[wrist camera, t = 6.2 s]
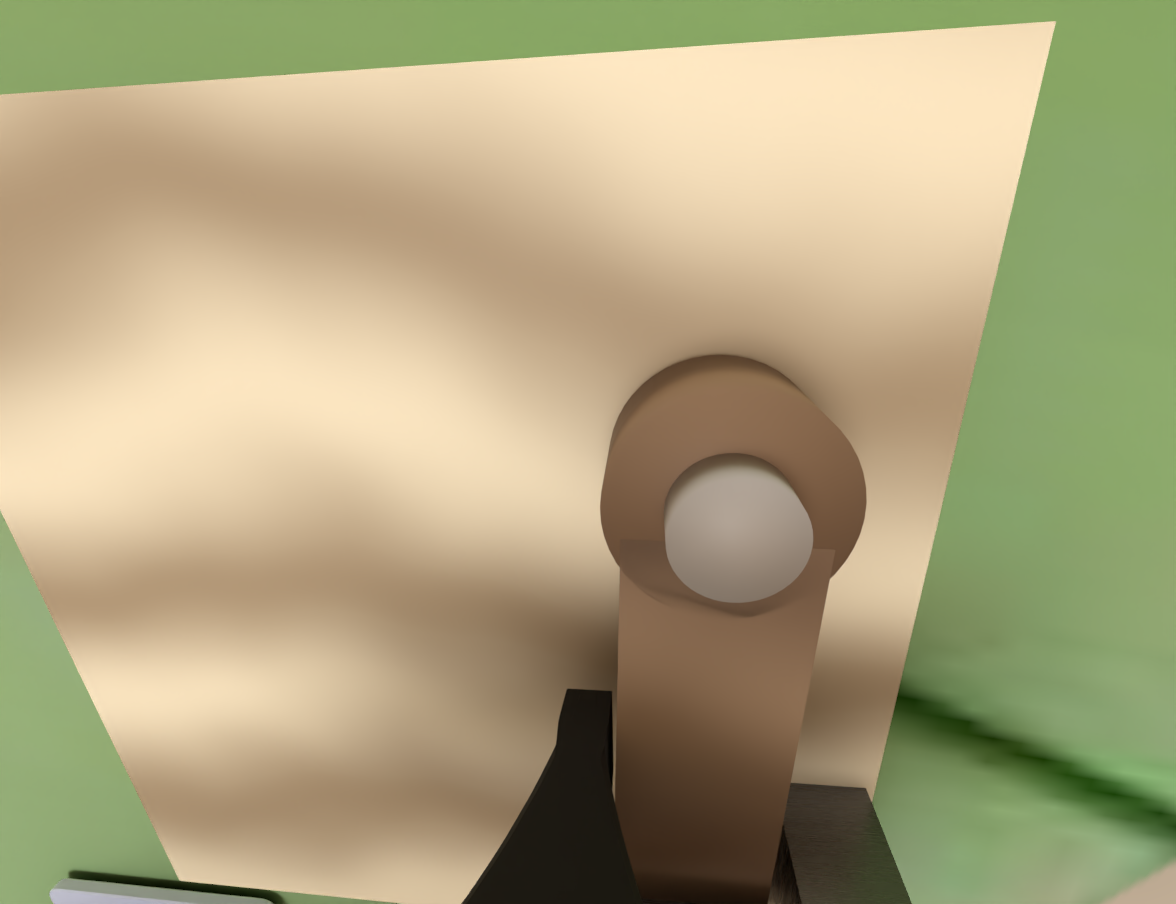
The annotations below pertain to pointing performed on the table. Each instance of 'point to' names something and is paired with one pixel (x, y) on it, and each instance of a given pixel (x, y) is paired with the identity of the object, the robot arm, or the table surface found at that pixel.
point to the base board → (461, 402)
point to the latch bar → (719, 613)
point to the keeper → (831, 851)
